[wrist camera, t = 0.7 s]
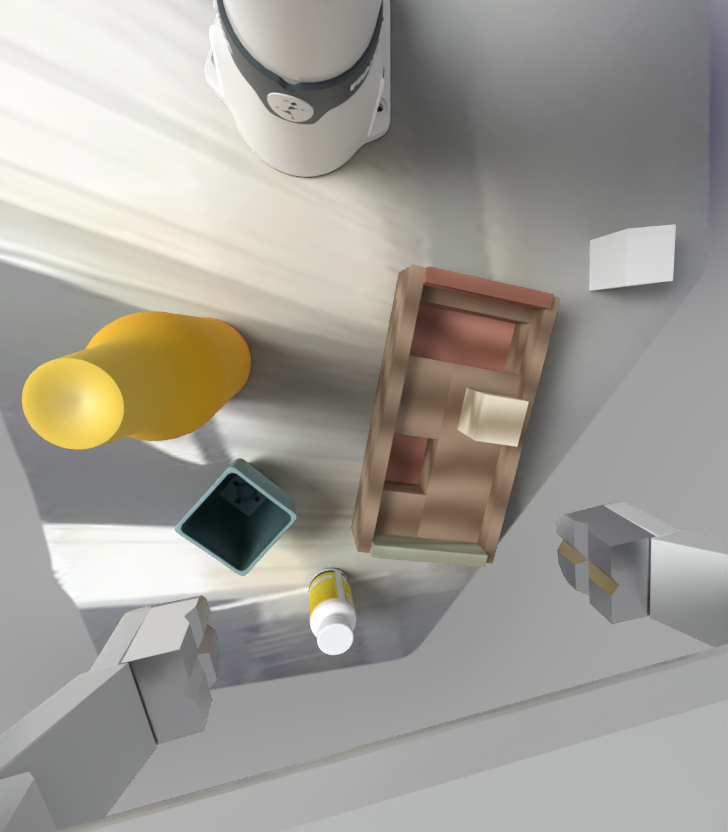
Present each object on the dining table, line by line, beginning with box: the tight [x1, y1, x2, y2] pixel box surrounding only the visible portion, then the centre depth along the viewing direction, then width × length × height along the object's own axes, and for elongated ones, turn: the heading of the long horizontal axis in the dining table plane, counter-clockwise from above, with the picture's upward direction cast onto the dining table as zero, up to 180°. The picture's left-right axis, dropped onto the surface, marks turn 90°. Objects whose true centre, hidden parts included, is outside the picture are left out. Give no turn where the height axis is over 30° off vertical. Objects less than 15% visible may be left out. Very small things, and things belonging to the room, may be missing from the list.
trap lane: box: [351, 265, 560, 567], centre depth 48 cm, size 32×17×7 cm, turn 170°
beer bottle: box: [22, 311, 251, 449], centre depth 32 cm, size 9×9×29 cm
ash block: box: [457, 388, 529, 447], centre depth 46 cm, size 5×5×5 cm
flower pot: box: [175, 458, 297, 576], centre depth 46 cm, size 9×9×9 cm
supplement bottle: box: [309, 568, 356, 655], centre depth 50 cm, size 5×5×10 cm
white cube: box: [589, 224, 676, 291], centre depth 48 cm, size 6×6×6 cm
